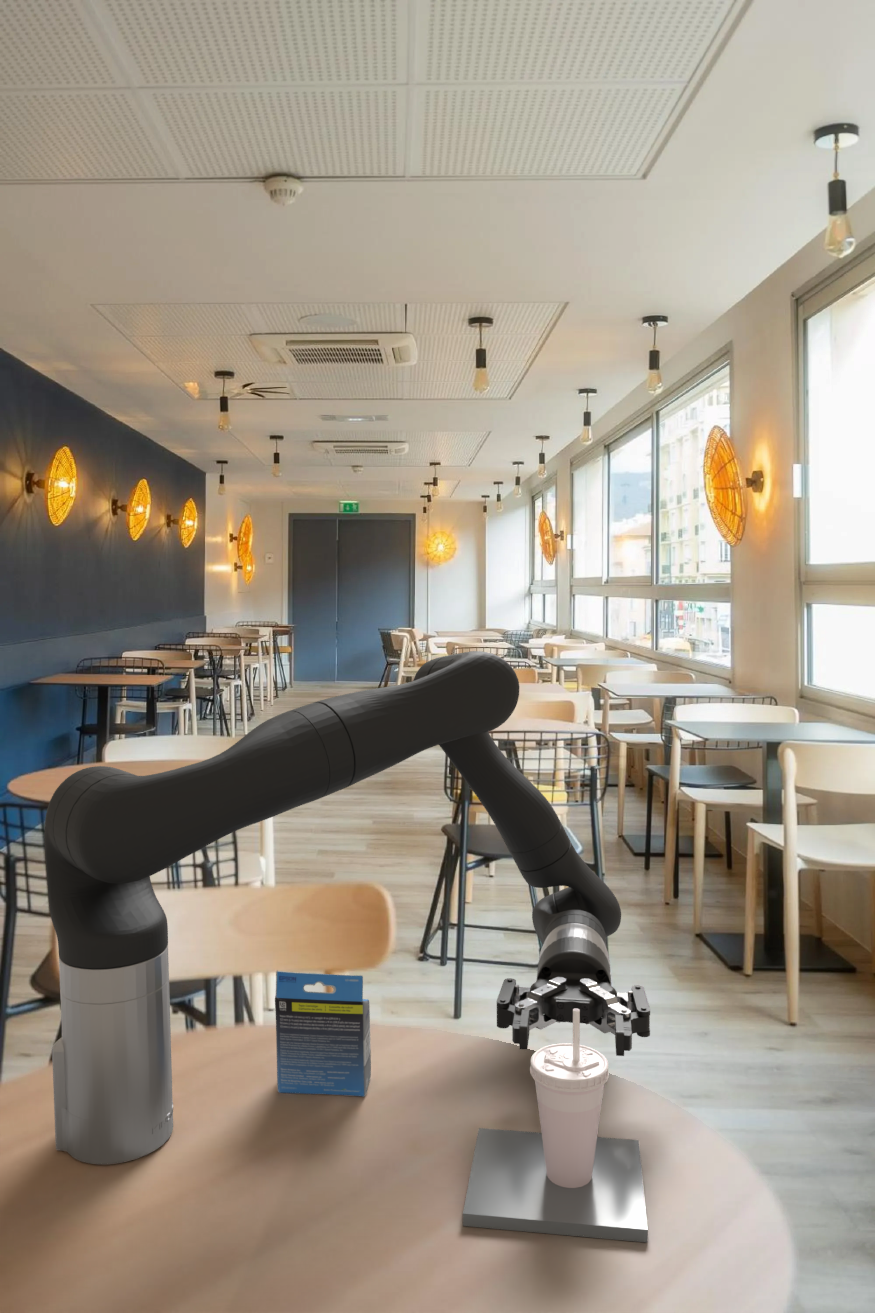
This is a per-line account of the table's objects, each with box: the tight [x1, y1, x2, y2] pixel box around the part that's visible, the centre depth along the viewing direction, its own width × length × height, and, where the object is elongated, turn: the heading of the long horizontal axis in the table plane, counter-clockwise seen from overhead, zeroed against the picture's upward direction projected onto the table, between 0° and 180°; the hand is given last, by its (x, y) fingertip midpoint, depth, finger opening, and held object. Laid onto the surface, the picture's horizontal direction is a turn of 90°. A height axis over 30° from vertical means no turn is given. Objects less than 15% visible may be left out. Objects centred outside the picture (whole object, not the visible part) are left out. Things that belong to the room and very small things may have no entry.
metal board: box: [462, 1127, 649, 1243], centre depth 81 cm, size 14×12×1 cm
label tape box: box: [274, 970, 372, 1097], centre depth 97 cm, size 9×4×12 cm, turn 84°
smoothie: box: [529, 1008, 610, 1188], centre depth 80 cm, size 6×6×14 cm
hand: (571, 1043), depth 87 cm, fingers open, 8 cm apart
